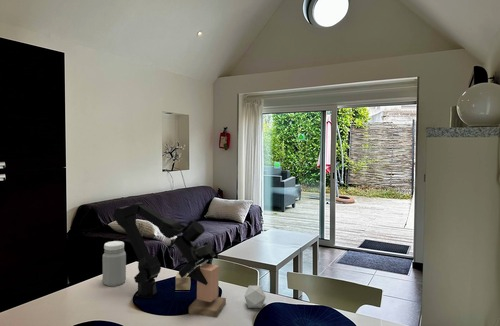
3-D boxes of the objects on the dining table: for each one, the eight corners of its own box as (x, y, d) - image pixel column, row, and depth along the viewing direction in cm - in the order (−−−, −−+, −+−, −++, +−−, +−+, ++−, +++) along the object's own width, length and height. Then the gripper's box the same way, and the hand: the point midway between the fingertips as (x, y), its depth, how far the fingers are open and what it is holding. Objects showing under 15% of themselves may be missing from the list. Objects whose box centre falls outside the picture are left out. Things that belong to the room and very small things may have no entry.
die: (258, 315, 132) (271, 292, 135) (239, 302, 134) (252, 279, 136) (257, 313, 140) (269, 291, 143) (239, 300, 141) (251, 279, 144)
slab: (188, 314, 131) (188, 306, 131) (199, 301, 142) (199, 294, 142) (216, 318, 129) (216, 310, 129) (225, 305, 140) (225, 297, 139)
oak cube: (175, 291, 151) (175, 277, 150) (176, 285, 157) (176, 272, 156) (189, 291, 151) (189, 277, 151) (190, 285, 157) (190, 272, 157)
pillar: (196, 299, 134) (197, 268, 133) (204, 292, 139) (205, 263, 139) (210, 302, 131) (211, 270, 131) (218, 295, 137) (218, 265, 136)
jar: (117, 276, 165) (117, 239, 164) (130, 282, 160) (130, 243, 158) (98, 283, 157) (98, 243, 156) (110, 289, 152) (110, 248, 151)
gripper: (186, 242, 127) (212, 277, 123) (211, 231, 144) (235, 261, 140) (167, 260, 130) (192, 295, 127) (195, 247, 148) (217, 277, 144)
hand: (211, 281), depth 134 cm, fingers closed on pillar, 6 cm apart
